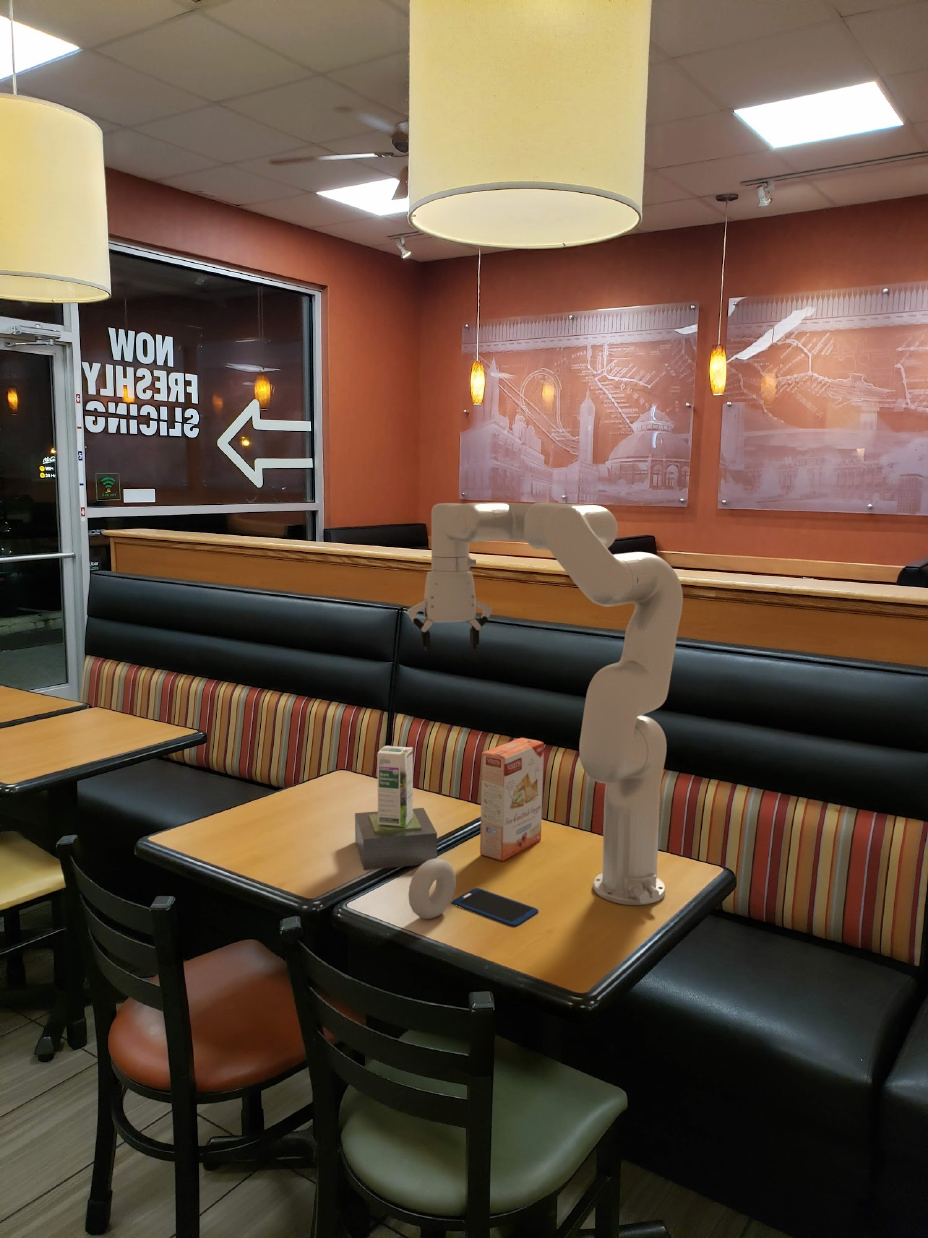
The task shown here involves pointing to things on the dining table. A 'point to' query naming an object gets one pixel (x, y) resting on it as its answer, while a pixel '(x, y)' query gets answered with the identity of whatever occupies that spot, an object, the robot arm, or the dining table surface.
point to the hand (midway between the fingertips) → (450, 649)
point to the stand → (395, 841)
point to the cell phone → (495, 907)
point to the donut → (423, 882)
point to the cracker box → (511, 798)
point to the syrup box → (395, 785)
